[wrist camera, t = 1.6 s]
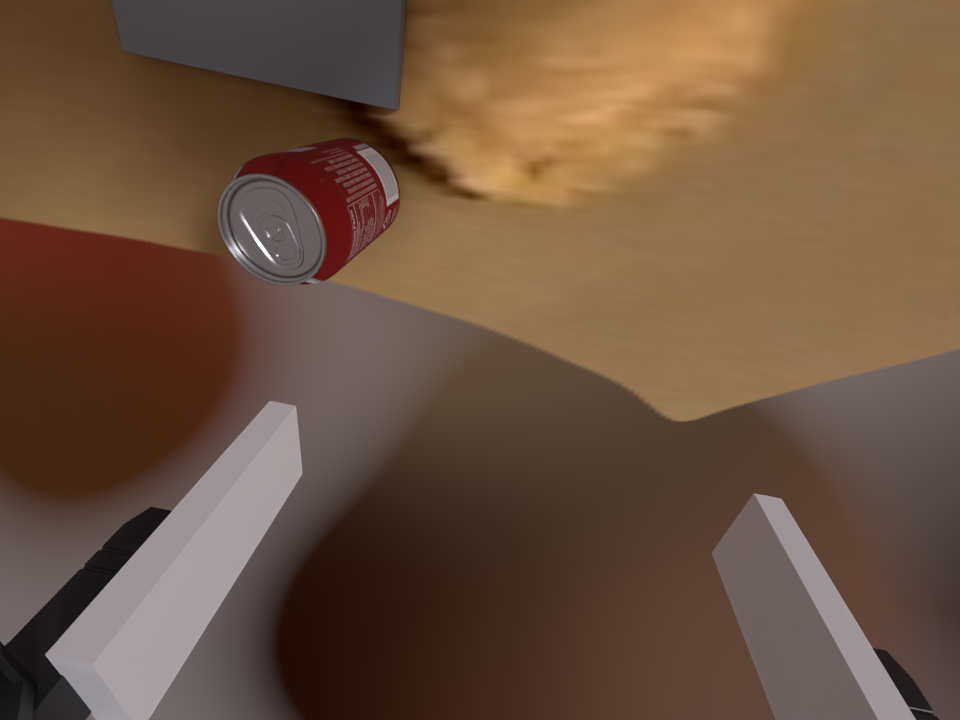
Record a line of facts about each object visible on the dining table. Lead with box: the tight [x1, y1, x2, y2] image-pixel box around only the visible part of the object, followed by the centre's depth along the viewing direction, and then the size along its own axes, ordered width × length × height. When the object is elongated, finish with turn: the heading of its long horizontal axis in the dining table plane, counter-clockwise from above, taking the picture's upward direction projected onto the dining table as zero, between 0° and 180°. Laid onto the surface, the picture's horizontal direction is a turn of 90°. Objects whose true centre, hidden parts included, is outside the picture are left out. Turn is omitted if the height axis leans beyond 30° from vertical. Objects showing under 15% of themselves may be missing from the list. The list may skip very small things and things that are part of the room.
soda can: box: [217, 138, 400, 286], centre depth 27 cm, size 7×7×12 cm
